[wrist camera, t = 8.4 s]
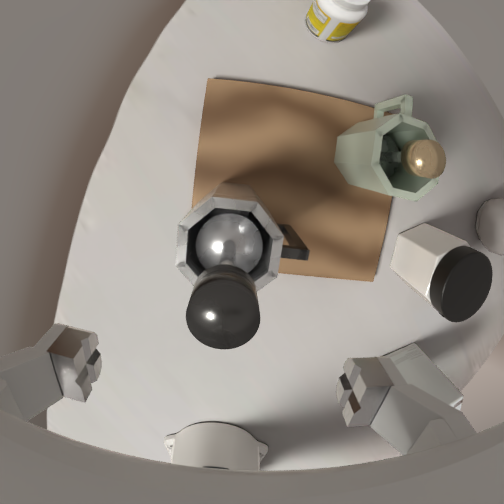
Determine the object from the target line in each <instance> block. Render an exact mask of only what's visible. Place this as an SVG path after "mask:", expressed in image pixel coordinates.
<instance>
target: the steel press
mask: <svg viewBox="0 0 504 504" xmlns="http://www.w3.org/2000/svg"><path fill="white" fill-rule="evenodd" d="M223 212H235V213H239V214H242V215H244V216H246V217H248V218H249V219H250V220H252V221H253V222H254V224H255V225H256V226H257V228H258V230H259V232H260V235H261V238H262V246H263V247H262V254H261V257H260V259H259V261H258V263H257V264H256V266H255V267H254V268H253V269H252V270H251V271H249V272H248V274H249V275H250V276H251V278H252V279H253V281H254V283H255V286H256V291H259V290H260V289H261V288H263V287H264V286H265V285H267V284H268V283H270V282H271V281H272V280H274V279H275V278H277V276H278V270H279V264H280V258H287V259H296V260H305V261H308V258H309V252H310V250H309V249H308V247H307V246H306V245H305V243H304V242H303V241H302V240H301V238H300V237H299V236H298V234H297V233H296V232H295V230H294V229H293V228H292V227H291V225H287V224H279V223H276V222H275V220H274V218H273V217H272V215H271V213H270V212H269V210H268V208H267V207H266V206H265V204H264V203H263V202H262V200H261V199H260V198H259V197H258V195H257V194H256V193H255V191H254V190H253V189H252V188H251V186H250V185H244V184H235V183H226V182H222V183H220V184H219V185H218V186H216V187H215V188H214V189H213V190H211V191H210V192H209V193H208V194H207V195H205V196H204V197H203V198H202V199H200V200H199V202H198V203H197V204H196V205H195V206H194V207H193V208H192V209H191V210H190V212H189V213H188V214H187V215H186V216H185V217H184V218H183V219H182V221H181V222H180V223H179V224H178V233H177V250H176V267H177V268H178V269H179V270H180V272H181V273H182V274H183V275H184V276H185V277H186V278H187V279H188V280H189V282H190V283H191V284H192V285H193V286H194V285H195V282H196V280H197V278H198V277H199V276H200V274H201V273H202V272H204V271H205V270H206V268H205V267H204V266H203V265H202V264H201V262H200V260H199V258H198V256H197V252H196V239H197V236H198V233H199V231H200V229H201V227H202V226H203V224H204V223H205V222H206V221H207V220H208V219H209V218H211V217H212V216H214V215H216V214H219V213H223ZM284 237H285V239H286V241H287V242H288V244H289V245H283V239H284Z"/></svg>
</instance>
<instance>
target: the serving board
mask: <svg viewBox="0 0 504 504" xmlns="http://www.w3.org/2000/svg"><path fill="white" fill-rule="evenodd" d="M374 109H375V108H372V107H369V106H365V105H362V104H358V103H354V102H351V101H347V100H343V99H339V98H334V97H330V96H326V95H321V94H317V93H312V92H307V91H302V90H296V89H291V88H285V87H279V86H273V85H266V84H259V83H251V82H243V81H233V80H223V79H210V78H208V81H207V87H206V93H205V100H204V107H203V114H202V121H201V128H200V136H199V144H198V152H197V161H196V170H195V179H194V189H193V199H192V208H193V207H194V206H195V205H196V204H197V203H198V202H199V200H200V199H202V198H203V197H204V196H205V195H207V194H208V193H209V192H210V191H211V190H213V189H214V188H215V187H216V186H218V185H219V184H220V183H222V182H226V183H235V184H244V185H250V186H251V188H252V189H253V190H254V191H255V193H256V194H257V195H258V197H259V198H260V199H261V200H262V202H263V203H264V204H265V206H266V207H267V208H268V210H269V212H270V213H271V215H272V217H273V218H274V220H275V222H276V223H279V224H287V225H291V227H292V228H293V229H294V230H295V232H296V233H297V234H298V236H299V237H300V238H301V240H302V241H303V242H304V243H305V245H306V246H307V247H308V249H309V250H310V252H309V258H308V261H305V260H296V259H287V258H280V264H279V270H278V273H284V274H294V275H304V276H315V277H325V278H336V279H347V280H359V281H370V282H373V280H374V276H375V273H376V269H377V265H378V261H379V257H380V252H381V248H382V244H383V239H384V235H385V230H386V226H387V221H388V216H389V211H390V205H391V200H392V196H390V195H386V194H382V193H379V192H376V191H372V190H368V189H365V188H361V187H358V186H354V185H350V184H348V183H347V181H346V180H345V178H344V177H343V175H342V174H341V172H340V171H339V169H338V168H337V166H336V165H335V163H334V159H335V152H336V145H337V137H338V136H339V135H341V134H342V133H344V132H345V131H346V130H348V129H349V128H351V127H352V126H354V125H355V124H356V123H359V122H363V121H367V120H371V119H374ZM389 115H393V114H392V113H389V112H384V116H389ZM384 116H383V117H384ZM283 245H289V244H288V242H287V241H286V239H285V237H284V239H283Z"/></svg>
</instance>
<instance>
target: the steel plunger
mask: <svg viewBox="0 0 504 504" xmlns="http://www.w3.org/2000/svg"><path fill="white" fill-rule="evenodd" d="M262 247H263V246H262V238H261V235H260V232H259V230H258V228H257V226H256V225H255V224H254V222H253V221H252V220H250V219H249V218H248V217H246V216H244V215H242V214H239V213H235V212H223V213H219V214H216V215H214V216H212V217H211V218H209V219H208V220H207V221H206V222H205V223H204V224H203V226H202V227H201V229H200V231H199V233H198V236H197V239H196V252H197V256H198V258H199V260H200V262H201V264H202V265H203V266H204V267H205V268H206V270H205V271H204V272H202V273H201V274H200V276H199V277H198V278H197V280H196V282H195V285H194V288H193V291H192V294H191V298H190V301H189V304H188V307H187V311H186V321H187V325H188V328H189V330H190V332H191V333H192V334H193V336H194V337H195V338H196V339H197V340H199V341H200V342H201V343H203V344H205V345H207V346H209V347H212V348H216V349H232V348H236V347H239V346H241V345H243V344H245V343H247V342H248V341H249V340H250V339H251V338H253V336H254V335H255V334H256V332H257V330H258V328H259V324H260V312H259V305H258V298H257V291H256V286H255V283H254V281H253V279H252V278H251V276H250V275H249V274H248V272H249V271H251V270H252V269H253V268H254V267H255V266H256V264H257V263H258V261H259V259H260V257H261V254H262Z"/></svg>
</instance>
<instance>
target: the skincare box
mask: <svg viewBox="0 0 504 504" xmlns="http://www.w3.org/2000/svg"><path fill="white" fill-rule="evenodd" d="M385 356H388V357H389V358H391V360H392V361H393V363H394V364H395V366H396V367H397V369H398V370H399V372H400V373H401V375H402V376H403V378H404V379H405V381H406V382H407V384H412V385H414V386H416V387H418V388H419V389H421V390H423V391H425V392H427V393H428V394H430V395H432V396H434V397H436V398H437V399H439V400H441V401H443V402H445V403H447V404H448V405H450V406H452V407H454V408H456V409H458V410H459V411H460V409H461V405H462V400H463V394H462V393H461V392H460V391H459V390H458V389H457V388H456V387H455V386H454V385H453V383H452V382H451V381H450V380H449V379H448V378H447V377H446V376H445V375H444V374H443V372H442V371H441V370H440V369H439V368H438V367H437V366H436V365H435V364H434V363H433V362H432V361H431V360H430V358H429V357H428V356H427V355H426V354H425V353H424V352H423V351H422V350H421V349H420V348H419V347H418V346H417V345H416V344H415V343H412V344H410V345H408V346H406V347H404V348H402V349H399V350H397V351H395V352H392V353H390V354H388V355H385Z"/></svg>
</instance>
